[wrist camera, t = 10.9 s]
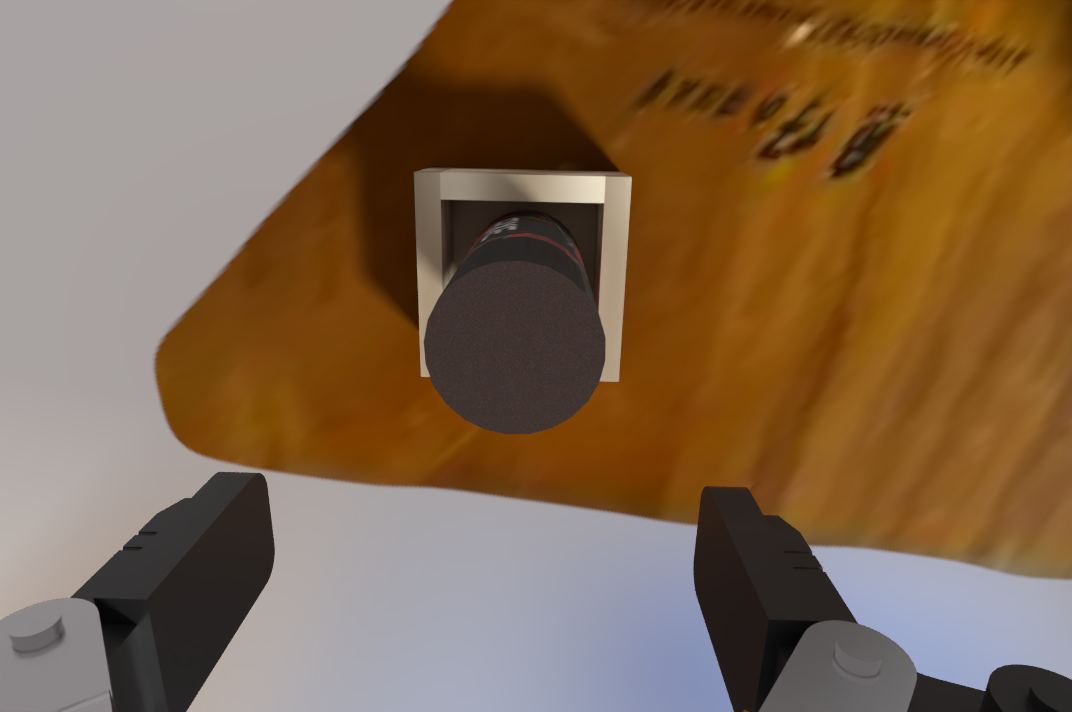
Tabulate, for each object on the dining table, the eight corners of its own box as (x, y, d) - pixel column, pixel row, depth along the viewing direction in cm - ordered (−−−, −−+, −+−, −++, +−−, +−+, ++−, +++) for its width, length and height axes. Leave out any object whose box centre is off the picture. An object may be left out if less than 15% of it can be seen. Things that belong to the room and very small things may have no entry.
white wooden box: (620, 171, 35) (631, 176, 30) (609, 351, 38) (618, 381, 34) (431, 167, 35) (413, 172, 31) (436, 346, 38) (421, 376, 34)
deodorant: (518, 340, 37) (504, 466, 23) (448, 257, 36) (385, 338, 22) (603, 273, 36) (643, 363, 22) (533, 186, 35) (527, 220, 20)
